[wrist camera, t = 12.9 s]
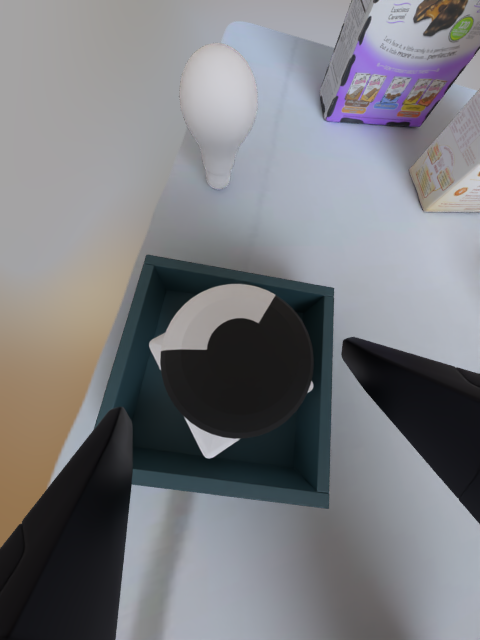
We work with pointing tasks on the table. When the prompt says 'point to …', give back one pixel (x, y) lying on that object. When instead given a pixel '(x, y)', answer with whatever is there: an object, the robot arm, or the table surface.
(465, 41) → the candy box
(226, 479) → the bin
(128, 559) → the table surface
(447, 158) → the coffeecake box
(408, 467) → the table surface
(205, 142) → the lightbulb
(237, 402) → the medicine bottle
